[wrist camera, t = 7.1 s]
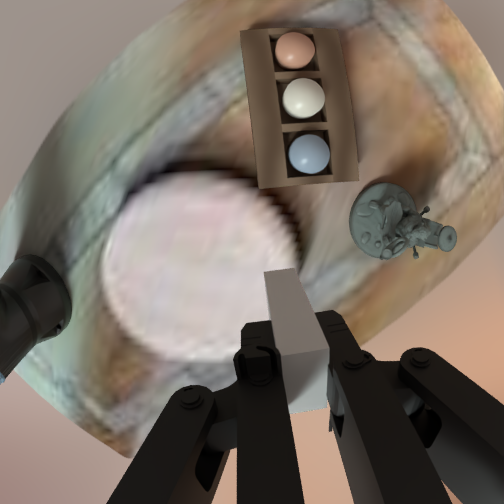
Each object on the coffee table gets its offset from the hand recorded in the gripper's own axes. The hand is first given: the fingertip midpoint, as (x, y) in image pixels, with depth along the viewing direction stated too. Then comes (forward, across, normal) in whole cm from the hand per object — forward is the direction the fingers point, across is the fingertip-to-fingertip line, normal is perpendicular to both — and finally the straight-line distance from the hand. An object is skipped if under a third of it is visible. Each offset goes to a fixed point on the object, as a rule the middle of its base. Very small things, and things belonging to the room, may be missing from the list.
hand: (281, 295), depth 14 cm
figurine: (+24, +17, -3) cm, 29 cm away
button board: (+24, +6, +13) cm, 28 cm away
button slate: (+22, +6, +7) cm, 24 cm away
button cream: (+21, +6, +13) cm, 26 cm away
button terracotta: (+22, +7, +20) cm, 30 cm away
